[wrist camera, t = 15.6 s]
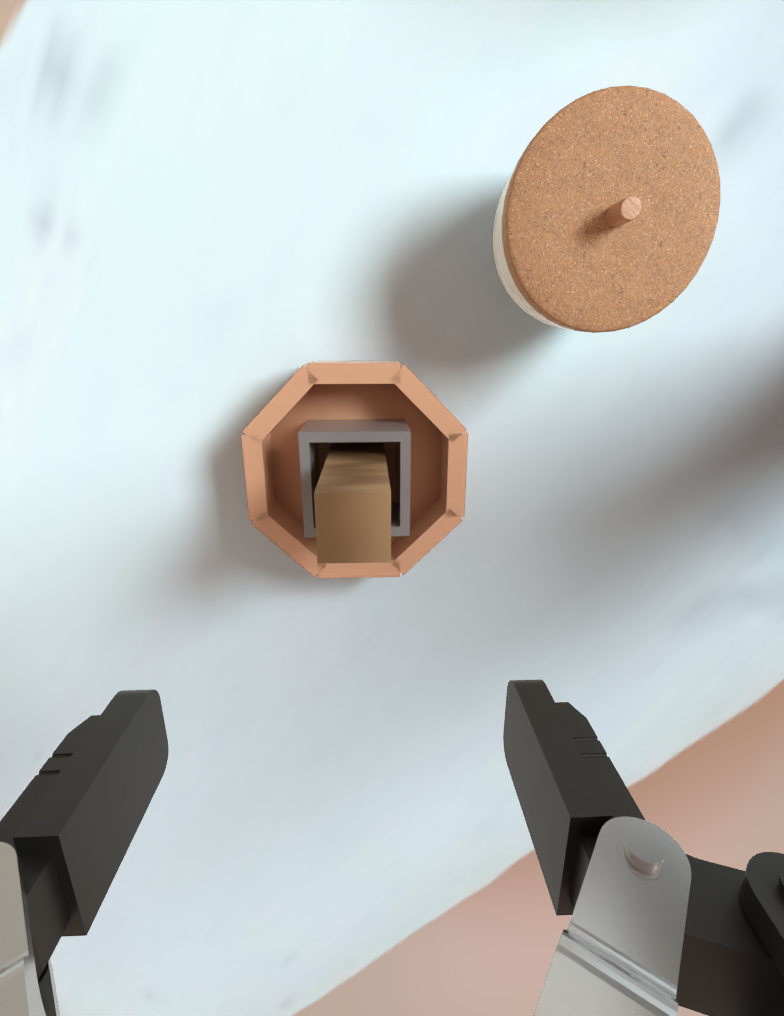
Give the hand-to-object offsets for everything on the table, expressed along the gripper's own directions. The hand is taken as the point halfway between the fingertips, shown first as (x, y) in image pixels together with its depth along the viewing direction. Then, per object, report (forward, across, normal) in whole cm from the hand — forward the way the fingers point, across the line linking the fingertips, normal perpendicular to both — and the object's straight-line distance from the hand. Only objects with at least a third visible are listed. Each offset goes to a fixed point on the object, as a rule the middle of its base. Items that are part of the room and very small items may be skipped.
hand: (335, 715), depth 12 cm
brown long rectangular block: (+24, 0, 0) cm, 24 cm away
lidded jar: (+26, -13, -14) cm, 32 cm away
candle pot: (+26, 0, 0) cm, 26 cm away
